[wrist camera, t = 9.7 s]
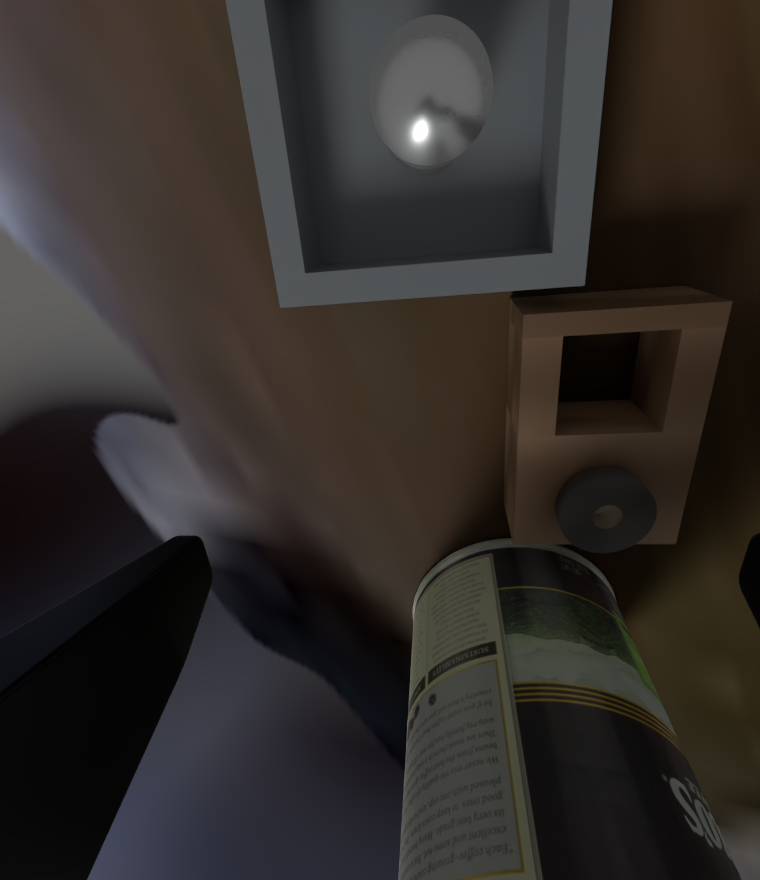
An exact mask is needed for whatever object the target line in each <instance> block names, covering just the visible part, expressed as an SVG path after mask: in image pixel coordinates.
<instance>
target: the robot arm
mask: <svg viewBox="0 0 760 880" xmlns="http://www.w3.org/2000/svg"><path fill="white" fill-rule="evenodd" d="M211 584H212V569H211V566H210V563H209V560H208V556H207V553H206V550H205V547H204V544H203V541H202V540H201V538H200V537H198V536H175V537H173V538H171V539H170V540H168V541H166V542H165V543H163V544H161V545H159V546H158V547H156V548H154V549H153V550H151V551H149V552H147V553H146V554H144V555H143V556H141V557H139V558H137V559H135V560H134V561H132V562H130V563H129V564H127V565H125V566H123V567H122V568H120V569H119V570H117V571H115V572H113V573H112V574H110V575H108V576H106V577H105V578H103V579H101V580H100V581H98V582H96V583H94V584H93V585H91V586H90V587H88V588H86V589H84V590H82V591H81V592H79V593H77V594H76V595H74V596H72V597H70V598H69V599H67V600H65V601H64V602H62V603H60V604H59V605H57V606H55V607H53V608H52V609H50V610H48V611H46V612H45V613H43V614H41V615H40V616H38V617H36V618H34V619H33V620H31V621H29V622H28V623H26V624H24V625H22V626H21V627H19V628H17V629H16V630H14V631H12V632H11V633H9V634H7V635H6V636H4V637H2V638H0V880H87V878H88V876H89V874H90V872H91V870H92V867H93V865H94V863H95V861H96V859H97V856H98V854H99V852H100V850H101V847H102V845H103V843H104V841H105V839H106V836H107V834H108V832H109V830H110V828H111V825H112V823H113V821H114V819H115V817H116V814H117V812H118V810H119V808H120V806H121V803H122V801H123V799H124V797H125V794H126V792H127V790H128V788H129V786H130V784H131V781H132V779H133V777H134V774H135V772H136V770H137V768H138V766H139V764H140V761H141V759H142V757H143V755H144V753H145V750H146V748H147V746H148V744H149V742H150V739H151V737H152V735H153V733H154V730H155V728H156V726H157V724H158V722H159V719H160V717H161V715H162V713H163V711H164V709H165V706H166V704H167V702H168V699H169V697H170V695H171V693H172V691H173V689H174V687H175V684H176V682H177V680H178V678H179V675H180V673H181V671H182V668H183V666H184V663H185V661H186V658H187V655H188V652H189V650H190V647H191V644H192V641H193V638H194V635H195V632H196V629H197V626H198V623H199V620H200V617H201V614H202V611H203V608H204V605H205V602H206V599H207V596H208V593H209V590H210V588H211ZM739 584H740V588H741V591H742V593H743V595H744V597H745V599H746V601H747V603H748V605H749V607H750V609H751V612H752V614H753V616H754V618H755V620H756V622H757V624H758V626H759V628H760V533H758V534H756V535H754V536H753V537H752V538H751V540H750V542H749V545H748V548H747V551H746V554H745V557H744V561H743V564H742V567H741V570H740V574H739Z"/></svg>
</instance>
